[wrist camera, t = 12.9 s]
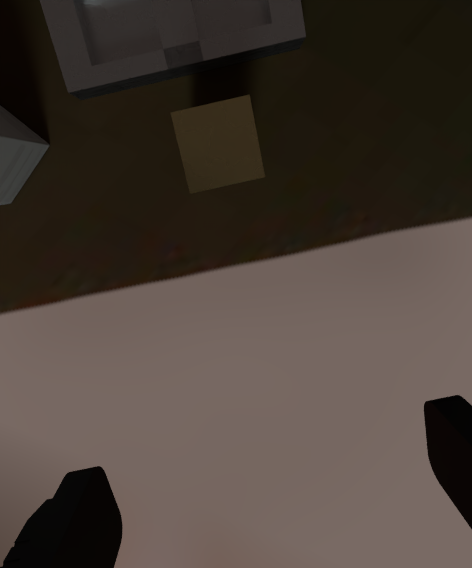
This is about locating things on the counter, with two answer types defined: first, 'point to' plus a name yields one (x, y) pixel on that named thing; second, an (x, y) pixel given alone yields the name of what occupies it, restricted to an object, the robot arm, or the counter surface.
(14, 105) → the counter surface
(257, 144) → the brown square post
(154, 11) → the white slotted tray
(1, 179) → the supplement box
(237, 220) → the counter surface
